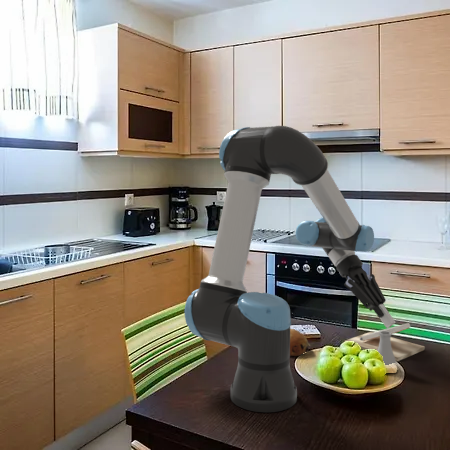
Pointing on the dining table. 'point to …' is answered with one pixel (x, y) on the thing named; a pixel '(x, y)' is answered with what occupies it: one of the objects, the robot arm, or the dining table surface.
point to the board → (398, 346)
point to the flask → (386, 347)
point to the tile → (392, 330)
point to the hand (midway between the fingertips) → (391, 325)
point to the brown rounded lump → (297, 343)
